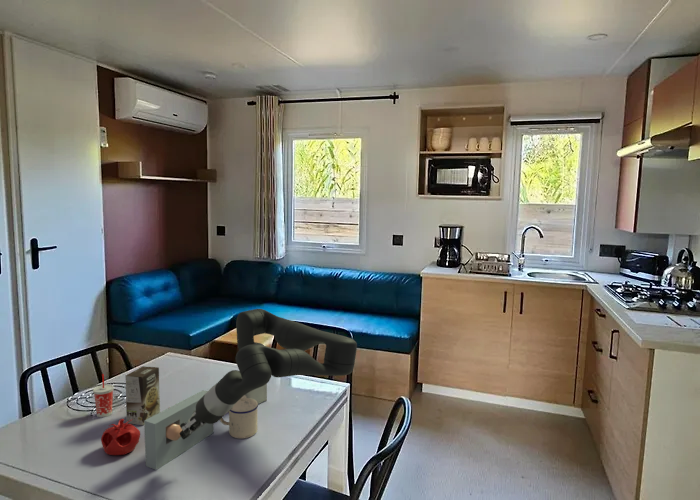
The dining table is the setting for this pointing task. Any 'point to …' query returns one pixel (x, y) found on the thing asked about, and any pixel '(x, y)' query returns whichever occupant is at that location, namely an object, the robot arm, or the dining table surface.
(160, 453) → the button panel
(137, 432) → the tomato
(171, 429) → the terracotta button
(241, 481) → the dining table surface
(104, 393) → the beverage cup
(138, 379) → the coffee box
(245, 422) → the teacup with lid
